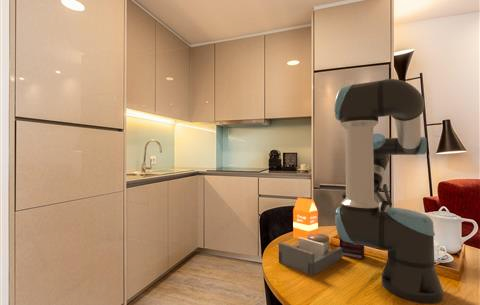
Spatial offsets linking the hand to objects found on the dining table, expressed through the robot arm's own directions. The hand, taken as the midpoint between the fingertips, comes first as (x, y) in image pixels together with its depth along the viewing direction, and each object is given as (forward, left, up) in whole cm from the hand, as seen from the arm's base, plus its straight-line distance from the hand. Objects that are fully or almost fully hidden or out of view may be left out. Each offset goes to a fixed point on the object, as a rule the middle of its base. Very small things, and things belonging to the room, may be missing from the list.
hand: (360, 214), depth 103 cm
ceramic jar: (+8, +20, -15) cm, 26 cm away
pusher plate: (+8, +25, -14) cm, 30 cm away
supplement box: (0, +9, -16) cm, 18 cm away
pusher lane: (+8, +25, -16) cm, 31 cm away
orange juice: (+24, +5, -16) cm, 29 cm away
